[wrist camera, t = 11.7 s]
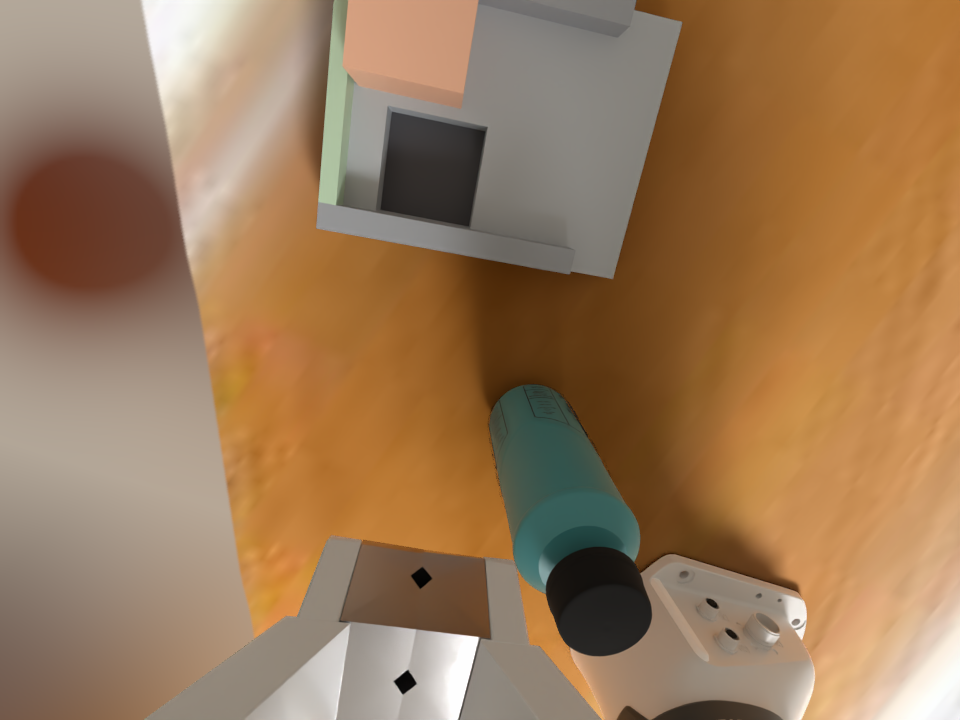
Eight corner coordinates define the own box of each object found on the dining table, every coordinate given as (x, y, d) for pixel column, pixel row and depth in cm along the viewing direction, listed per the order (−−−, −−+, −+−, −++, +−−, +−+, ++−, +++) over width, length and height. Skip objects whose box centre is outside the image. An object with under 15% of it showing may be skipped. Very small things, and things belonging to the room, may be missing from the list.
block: (476, 11, 27) (482, -24, 23) (461, 109, 28) (463, 93, 24) (368, -16, 26) (353, -57, 22) (358, 85, 28) (342, 66, 23)
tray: (664, 35, 30) (699, 9, 26) (602, 273, 35) (622, 284, 30) (356, -42, 28) (340, -83, 24) (333, 224, 32) (316, 228, 28)
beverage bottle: (468, 416, 38) (487, 639, 19) (527, 355, 36) (611, 529, 17) (527, 463, 39) (600, 711, 20) (586, 407, 38) (721, 616, 19)
